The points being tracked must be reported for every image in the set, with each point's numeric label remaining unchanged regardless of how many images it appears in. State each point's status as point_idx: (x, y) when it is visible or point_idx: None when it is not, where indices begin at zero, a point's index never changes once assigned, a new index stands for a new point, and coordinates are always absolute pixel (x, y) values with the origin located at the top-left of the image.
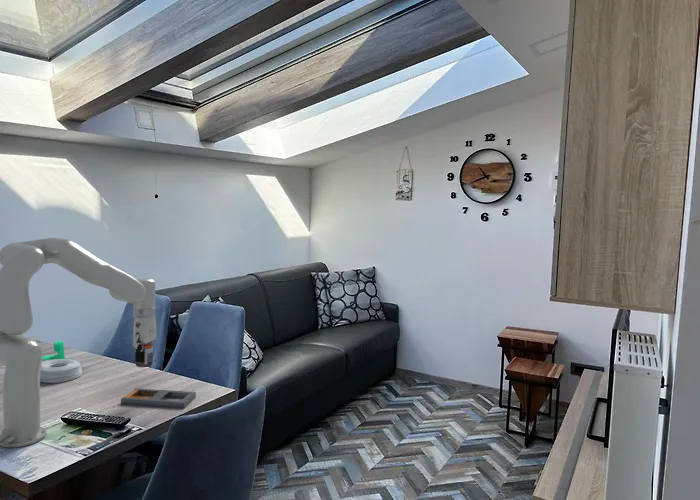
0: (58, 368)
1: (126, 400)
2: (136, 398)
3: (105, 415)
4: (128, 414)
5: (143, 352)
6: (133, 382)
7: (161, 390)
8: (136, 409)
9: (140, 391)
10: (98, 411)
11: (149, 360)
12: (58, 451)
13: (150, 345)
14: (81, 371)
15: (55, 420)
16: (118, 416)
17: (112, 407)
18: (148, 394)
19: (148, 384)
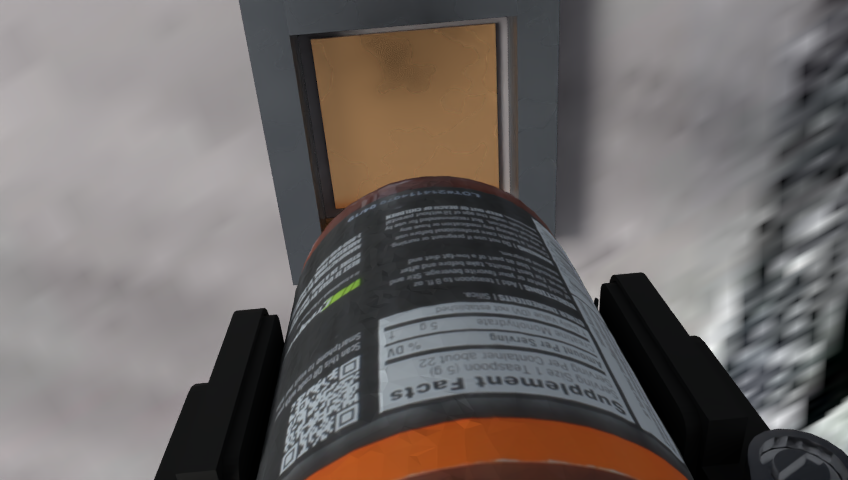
0: None
1: (552, 209)
2: (527, 142)
3: (769, 217)
4: (750, 59)
5: (732, 404)
6: (86, 403)
7: (256, 19)
8: (638, 54)
9: (321, 217)
10: (696, 301)
11: (503, 223)
12: None
13: (567, 464)
14: None
15: (841, 433)
16: (791, 114)
17: (615, 257)
18: (311, 134)
19: (64, 278)
